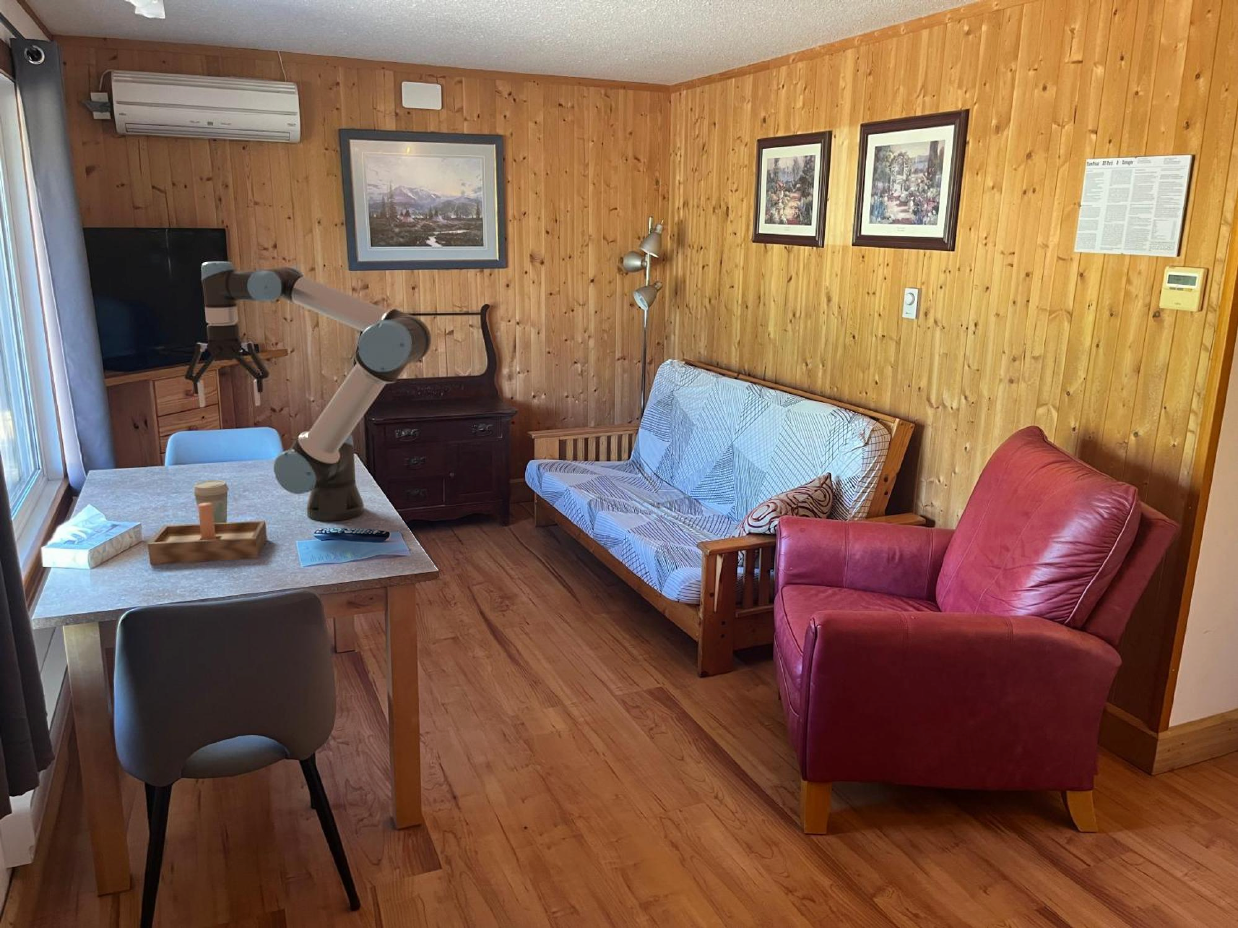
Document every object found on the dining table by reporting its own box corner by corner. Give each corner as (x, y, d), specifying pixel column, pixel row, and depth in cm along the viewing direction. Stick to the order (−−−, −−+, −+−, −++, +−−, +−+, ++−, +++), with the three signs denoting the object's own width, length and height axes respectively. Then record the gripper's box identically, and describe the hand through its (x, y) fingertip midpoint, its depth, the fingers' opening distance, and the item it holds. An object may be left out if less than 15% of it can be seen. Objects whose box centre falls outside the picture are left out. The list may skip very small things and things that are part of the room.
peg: (215, 553, 232) (210, 506, 229) (201, 554, 231) (196, 506, 228) (218, 548, 235) (213, 502, 232) (204, 549, 234) (199, 502, 231)
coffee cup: (194, 534, 246) (190, 489, 242) (199, 524, 253) (194, 480, 250) (230, 531, 248) (225, 487, 245) (234, 521, 256) (229, 478, 253)
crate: (267, 539, 242) (265, 520, 241) (257, 558, 229) (255, 538, 227) (166, 544, 238) (163, 525, 236) (150, 564, 224) (147, 544, 223)
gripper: (276, 321, 248) (282, 401, 253) (174, 322, 243) (183, 404, 249) (271, 324, 241) (278, 407, 246) (166, 326, 236) (175, 409, 242)
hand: (230, 405), depth 247 cm, fingers open, 13 cm apart
